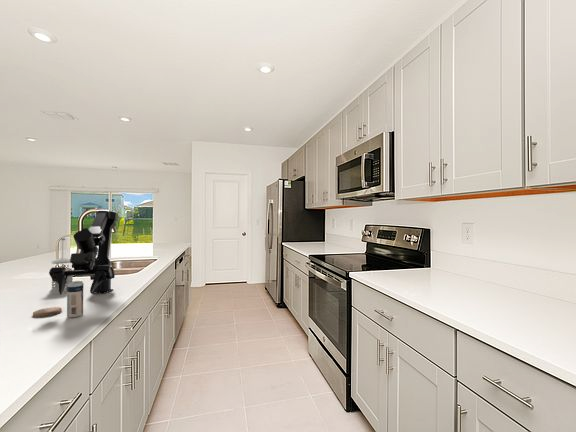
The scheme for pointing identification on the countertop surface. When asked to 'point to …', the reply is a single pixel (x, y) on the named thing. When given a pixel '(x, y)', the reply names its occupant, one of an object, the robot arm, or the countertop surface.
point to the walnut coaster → (47, 312)
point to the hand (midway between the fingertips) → (75, 292)
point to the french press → (65, 260)
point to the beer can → (75, 299)
